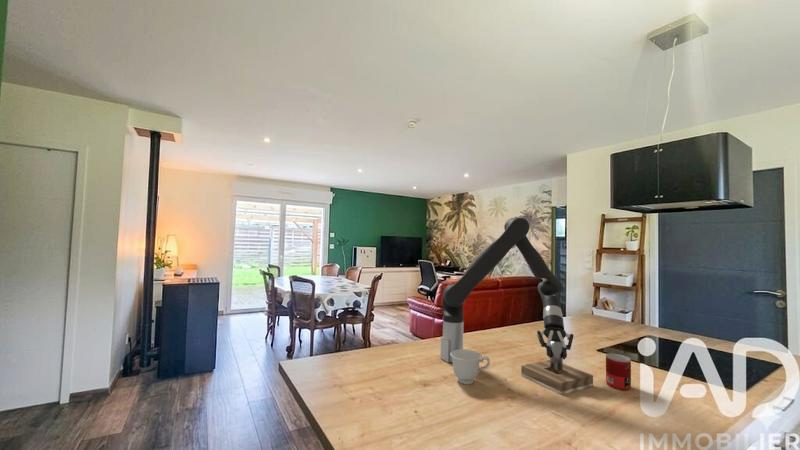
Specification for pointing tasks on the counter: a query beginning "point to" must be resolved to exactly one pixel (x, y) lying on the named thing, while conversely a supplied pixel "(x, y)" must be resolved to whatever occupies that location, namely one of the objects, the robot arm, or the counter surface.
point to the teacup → (467, 364)
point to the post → (556, 355)
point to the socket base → (557, 377)
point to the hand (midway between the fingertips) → (557, 357)
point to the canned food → (618, 371)
